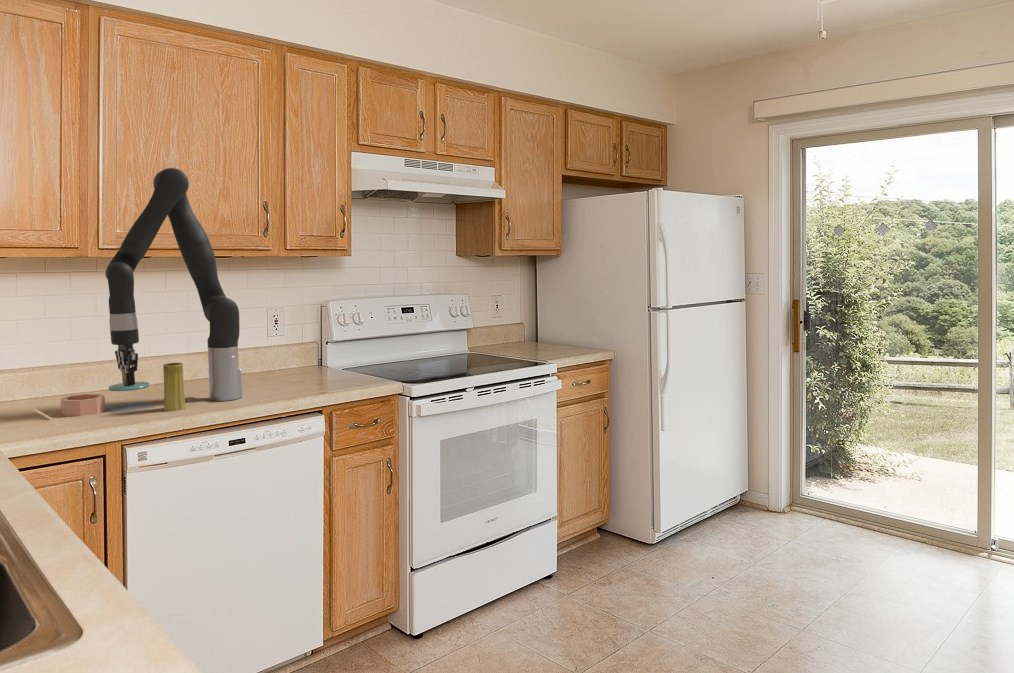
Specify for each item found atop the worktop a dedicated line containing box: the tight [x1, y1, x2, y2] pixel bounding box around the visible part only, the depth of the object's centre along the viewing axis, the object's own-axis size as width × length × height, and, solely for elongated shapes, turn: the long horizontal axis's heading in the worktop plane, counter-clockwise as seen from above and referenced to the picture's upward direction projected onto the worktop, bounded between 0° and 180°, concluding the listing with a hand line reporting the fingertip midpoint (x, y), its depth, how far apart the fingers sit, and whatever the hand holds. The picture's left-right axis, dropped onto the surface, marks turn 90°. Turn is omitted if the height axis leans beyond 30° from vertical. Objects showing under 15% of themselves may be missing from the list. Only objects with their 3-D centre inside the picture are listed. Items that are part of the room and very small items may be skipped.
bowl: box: [60, 393, 106, 417], centre depth 216 cm, size 10×10×5 cm
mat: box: [105, 401, 156, 413], centre depth 223 cm, size 12×12×1 cm
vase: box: [162, 362, 187, 412], centre depth 220 cm, size 6×6×14 cm
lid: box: [108, 369, 150, 392], centre depth 223 cm, size 11×11×6 cm
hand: (128, 383), depth 223 cm, fingers closed on lid, 3 cm apart
